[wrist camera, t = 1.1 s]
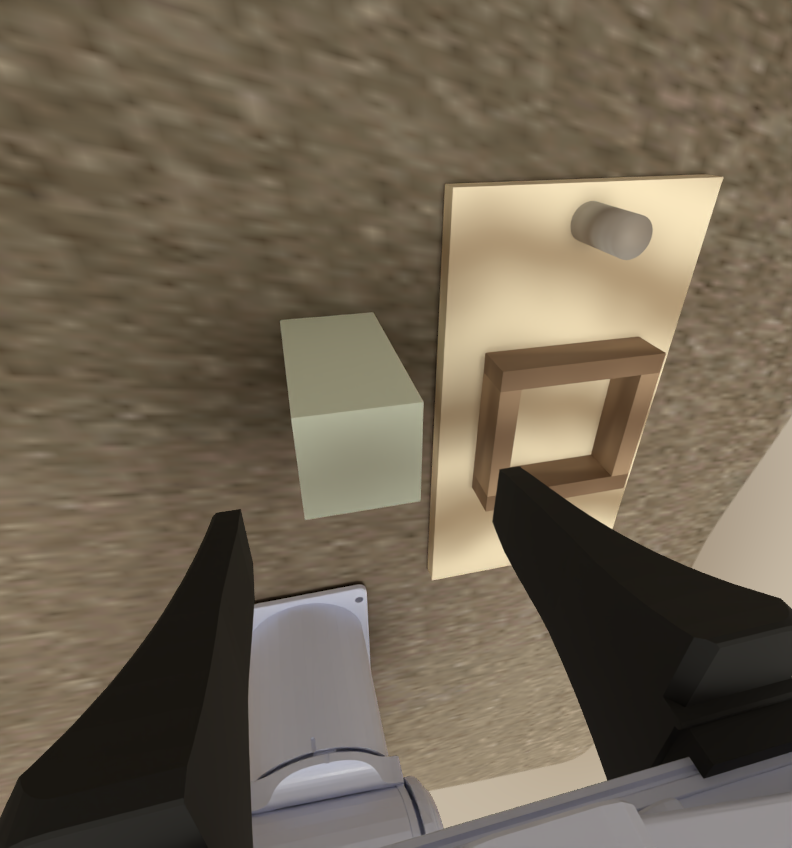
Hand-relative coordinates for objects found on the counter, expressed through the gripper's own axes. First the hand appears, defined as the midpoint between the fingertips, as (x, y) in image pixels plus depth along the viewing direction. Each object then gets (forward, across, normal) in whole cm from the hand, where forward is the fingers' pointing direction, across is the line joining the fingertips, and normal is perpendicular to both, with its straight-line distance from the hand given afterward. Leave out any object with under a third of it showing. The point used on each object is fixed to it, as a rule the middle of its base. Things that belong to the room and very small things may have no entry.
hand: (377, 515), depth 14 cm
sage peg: (+11, 0, 0) cm, 11 cm away
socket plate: (+10, -11, +4) cm, 16 cm away
